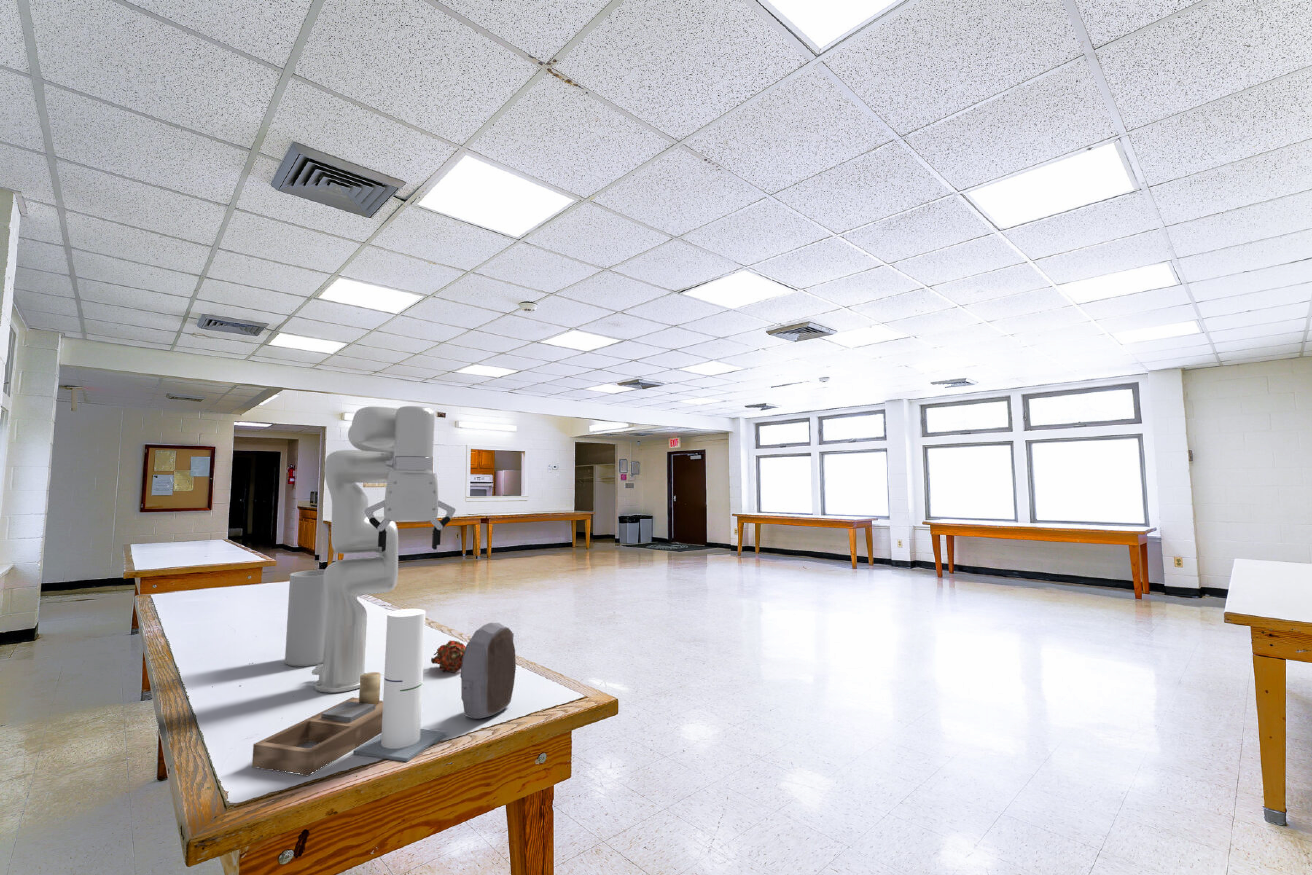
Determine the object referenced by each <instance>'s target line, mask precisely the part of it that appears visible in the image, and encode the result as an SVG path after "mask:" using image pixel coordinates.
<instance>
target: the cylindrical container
mask: <svg viewBox="0 0 1312 875" xmlns="http://www.w3.org/2000/svg"><path fill="white" fill-rule="evenodd" d="M386 616H387V617H386V635H385V636H386V637H385V654H384V655H385V659H384V674H383V676H384V677H383V699H382V701H383V716H382V733H381V734H382V736H381V745H382V746H383V747H385V748H390V749H397V748H404V747H408V746H411V745H413V744H415V743H417V742H418V741H419V740H420V729H422V728H421V726H422V724H421V723H422V707H423V706H422V701H423V700H422V699H423V697H422V696H423V678H424V677H423V676H424V659H425V658H424V656H425V655H424V654H425V637H426V636H425V632H426V631H425V630H426V610H424V609H419V608H404V609H396V610H391V611H389V612H388V613H387V615H386Z"/></svg>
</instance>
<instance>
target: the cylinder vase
mask: <svg viewBox="0 0 1312 875" xmlns="http://www.w3.org/2000/svg"><path fill="white" fill-rule="evenodd" d="M324 572H325V569H316V570H315V569H314V570H313V569H311V570H302V571H301V570H300V571H297V572H296V571H295V572H293V573H290V574H289V586H288V587H289V588H288V603H287V606H288V607H287V617H286V618H287V619H286V620H287V621H286V635H285V636H286V638H285V654H284V663H285V664H286V665H287V666H290V667H294V668H295V667H298V668H299V667H300V668H301V667H312V666H317V665H319V664H320V665H323V655H324V637H325V617H326V599H325V589H324Z"/></svg>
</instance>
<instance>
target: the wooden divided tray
mask: <svg viewBox="0 0 1312 875" xmlns="http://www.w3.org/2000/svg"><path fill="white" fill-rule="evenodd" d="M364 673H365V674H363V675H361V676H360V688H359V690H358V691H359V692H358V694H359V695H358V697H353V696H352V697H350V698H348V699H346V700H344V701H342V702H340V703H338V704H335V705H333V706H330V707H329V708H327V709H325V710H322V711H320V712H319V713H316V714H315V715H313V716H310V717H308V718H305V719H304V720H301V721H299V722H297V723H295V724H294V725H291V726H288V727H287V728H284V729H283V730H281V731H279V732H278V731H277V733H273V734H272V735H269V736H268V737H266V738H264V739H262V740H259V741H258V742H256V743H253V744H252V746H253V748H252V761H251V762H252V763H251V764H252V765H251V768H255V767H259V768H258V769H261V768H263V770H267V769H273V770H279V771H278V772H280V771H284V772H283V773H286V772H293V773H300V774H303V775H302V776H304V775H309V776H311V775H312V774H311V773H312V772H314V773H316V772H317V771H316V770H318V769H319V770H321V769H322V768H321V767H323V766H325V765H326V764H328V765H330V764H331V763H333V762H335V761H336V760H339V759H340V758H341V757H343V756H344V755H347V754H348V753H350V752H352V751H353V750H355V749H357V748H358V747H360V746H362V745H363V744H365V743H367V742H369V741H370V740H372V739H374V738H375V737H377V736H379V735H380V734H382V716H383V700H380V696H381V695H380V694H381V692H380V691H381V675H382V674H381V673H380V672H375V671H371V672H364ZM309 742H310V743H314V744H315V743H317V744H316V745H314V746H312V747H310V748H305V747H301V746H302V745H304V744H306V743H309ZM299 745H300V746H299ZM297 746H298V747H297ZM334 760H335V761H334ZM332 761H333V762H332ZM330 762H331V763H330ZM329 763H330V764H329ZM326 766H327V765H326ZM326 766H325V767H326ZM320 768H321V769H320ZM323 768H324V767H323ZM273 770H272V771H273ZM319 770H318V771H319ZM285 771H286V772H285ZM315 771H316V772H315ZM310 774H311V775H310Z"/></svg>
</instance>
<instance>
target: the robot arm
mask: <svg viewBox="0 0 1312 875" xmlns="http://www.w3.org/2000/svg"><path fill="white" fill-rule="evenodd" d="M352 418H353V419H352V421H351V425H350V427H349V428H348V432H347V439H348V441H349V443H350V444H351V446H352V447H354V448H356V449H343V450H342V449H341V450H336V451H333V452H330V453H329V454H328V455H327V456H326V458H325V461H324V477H325V481H326V486H327V488H328V491H329V494H330V495H329V496H330V499H331V531H330V533H331V534H330V536H331V537H330V538H331V540H330V541H331V548H332V550H333V551H334V552H335V553H338V554H341V555H342V554H343V555H345V554H347V555H349V554H350V555H352V554H365V553H366V554H369V553H376V555H377V556H376V557H361V558H360V557H358V558H349V559H348V558H346V559H340V560H335V561H333V562H331V563H330V564H328V566H327V567H326V568H325V569H324V570H325V572H324V589H325V599H326V617H325V637H324V655H323V663H322V664H318V665H315V667H314V668H313V669H312V670H311V674H312V675H313V676H314V675H315V676H318V680H316V681H315V683H314V690H316V691H317V692H321V693H330V694H331V693H343V692H349V691H353V690H356V689H360V676H361V675H363V674H365V673H366V672H365V669H366V668H365V666H366V665H365V664H366V661H365V660H366V647H367V645H366V644H367V643H366V642H367V625H368V620H367V619H368V612H367V610H366V607H365V606H364V605H363V604H362V603H361V602H360V601H359V600H358V597H361V596H367V595H376V594H384V593H385V594H386V593H389V592H391V591H393V590H395V588H396V586H397V583H398V580H399V579H398V577H399V531H398V530H399V529H398V526H397V523H404V522H405V523H408V522H411V523H413V522H418V523H419V522H430V523H431V524H432V525H433V526H434V527H433V529H432V537H431V548H432V549H433V550H435V551H436V550H438V546H440V545H441V534H442V532H441V531H442V530H443V528H445V526H446V525H448V523H450V521H451V519H452V518H453V516H454V515H455V513H456V511H457V510H456V508H454V506H451V505H449V504H446V503H445V502H443V501H440V500H439V486H438V485H439V483H438V475H437V473H433V465H434V464H433V462H434V441H435V440H434V438H435V420H436V419H435V412H434V410H433V409H431V408H429V407H425V406H419V405H416V406H415V405H407V406H406V405H405V406H400V407H398V408H396V407H393V408H392V407H386V406H385V407H384V406H365V407H362V408H359V409H357V410H356V412H354V415H353V417H352ZM358 483H359V484H361V483H363V484H386V486H385V492H384V493H385V494H384V499H383V500H381V501H379V502H377V503H375V504H373V505H371V506H369V499H368V496H367V494H366V493H365V491H364V490H363V489H362V488H361V487H360V485H359V484H358ZM382 508H383V515H382V516H380V515H379V516H375V514H374V512H376V511H378V510H380V509H382ZM439 509H442V510H444V511H446V513H445V515H444V516H443V518H441V520H438V517H439V516H438V515H439Z"/></svg>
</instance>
